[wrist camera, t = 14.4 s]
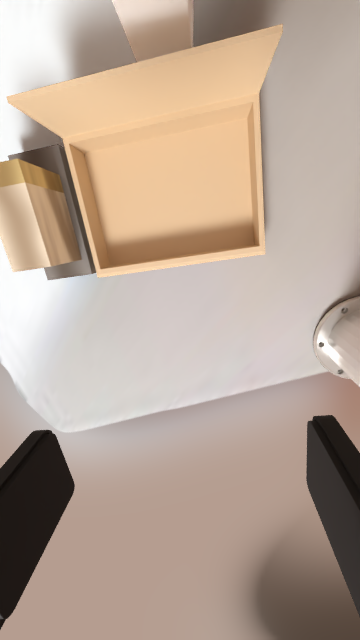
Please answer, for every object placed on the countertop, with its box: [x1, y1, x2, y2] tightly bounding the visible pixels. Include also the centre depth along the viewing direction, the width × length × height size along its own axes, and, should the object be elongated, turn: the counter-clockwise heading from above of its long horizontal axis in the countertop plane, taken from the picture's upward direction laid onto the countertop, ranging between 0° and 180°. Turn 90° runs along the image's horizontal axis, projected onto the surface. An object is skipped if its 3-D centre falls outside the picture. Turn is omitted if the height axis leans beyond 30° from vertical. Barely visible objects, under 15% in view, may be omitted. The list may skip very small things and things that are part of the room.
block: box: [0, 159, 82, 272], centre depth 28 cm, size 4×10×7 cm, turn 8°
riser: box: [8, 145, 96, 280], centre depth 33 cm, size 6×15×3 cm, turn 9°
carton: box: [7, 24, 283, 278], centre depth 27 cm, size 21×16×12 cm
